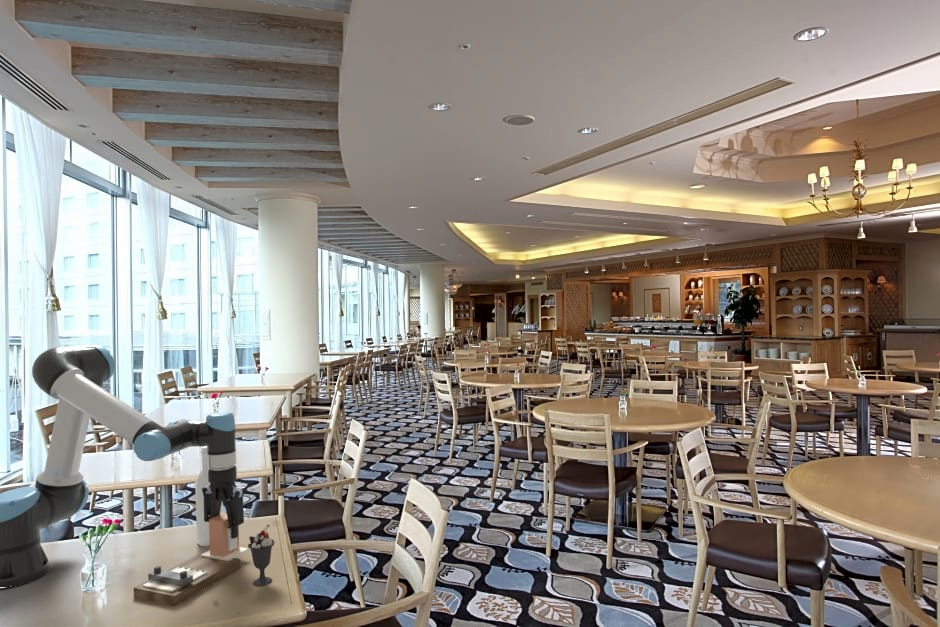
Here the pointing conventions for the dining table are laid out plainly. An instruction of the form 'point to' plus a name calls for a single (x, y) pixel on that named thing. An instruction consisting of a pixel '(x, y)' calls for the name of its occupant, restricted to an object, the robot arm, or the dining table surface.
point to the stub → (221, 540)
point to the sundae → (261, 555)
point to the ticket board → (194, 586)
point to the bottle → (202, 501)
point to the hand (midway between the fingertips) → (224, 547)
